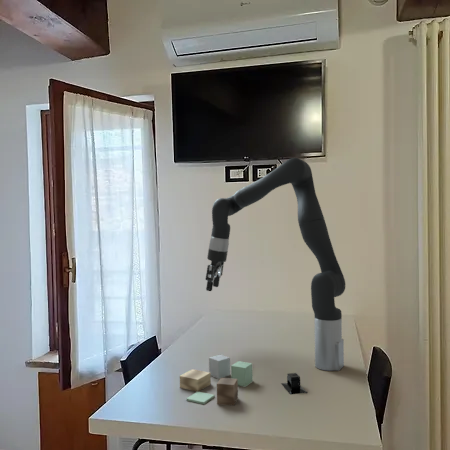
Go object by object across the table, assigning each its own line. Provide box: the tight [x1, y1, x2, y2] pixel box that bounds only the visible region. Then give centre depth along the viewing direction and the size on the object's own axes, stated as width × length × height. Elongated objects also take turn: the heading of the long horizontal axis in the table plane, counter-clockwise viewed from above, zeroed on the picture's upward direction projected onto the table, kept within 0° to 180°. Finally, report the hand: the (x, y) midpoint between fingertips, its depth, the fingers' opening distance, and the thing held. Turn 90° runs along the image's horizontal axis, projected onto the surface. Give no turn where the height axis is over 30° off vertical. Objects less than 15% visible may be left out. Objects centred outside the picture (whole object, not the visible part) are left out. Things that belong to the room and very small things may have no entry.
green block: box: [230, 360, 254, 387], centre depth 158 cm, size 5×5×6 cm
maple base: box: [179, 368, 212, 392], centre depth 156 cm, size 7×7×4 cm
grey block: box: [208, 354, 231, 380], centre depth 165 cm, size 5×5×6 cm
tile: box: [186, 391, 215, 405], centre depth 145 cm, size 6×6×1 cm
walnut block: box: [216, 377, 239, 406], centre depth 143 cm, size 5×5×6 cm
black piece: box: [280, 372, 308, 395], centre depth 152 cm, size 12×7×5 cm, turn 11°
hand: (212, 288), depth 194 cm, fingers open, 8 cm apart
